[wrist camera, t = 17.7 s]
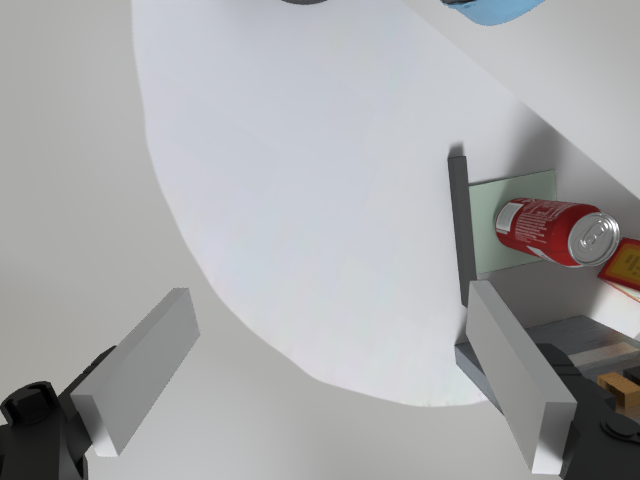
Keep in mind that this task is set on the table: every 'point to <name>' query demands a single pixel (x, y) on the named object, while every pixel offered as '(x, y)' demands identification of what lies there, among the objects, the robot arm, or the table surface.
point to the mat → (485, 209)
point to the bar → (462, 224)
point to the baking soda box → (624, 268)
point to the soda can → (558, 231)
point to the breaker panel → (580, 362)
